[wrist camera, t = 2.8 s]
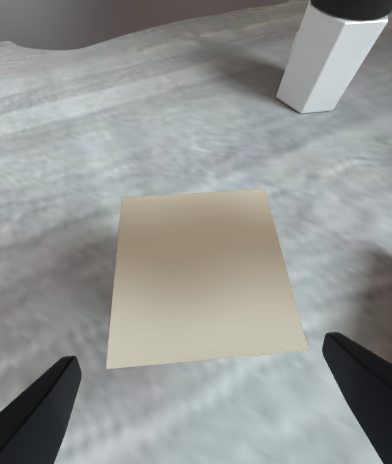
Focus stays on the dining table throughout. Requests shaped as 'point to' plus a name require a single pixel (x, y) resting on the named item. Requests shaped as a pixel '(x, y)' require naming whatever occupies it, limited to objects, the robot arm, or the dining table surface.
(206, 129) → the dining table surface
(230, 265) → the birch block
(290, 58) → the jar
